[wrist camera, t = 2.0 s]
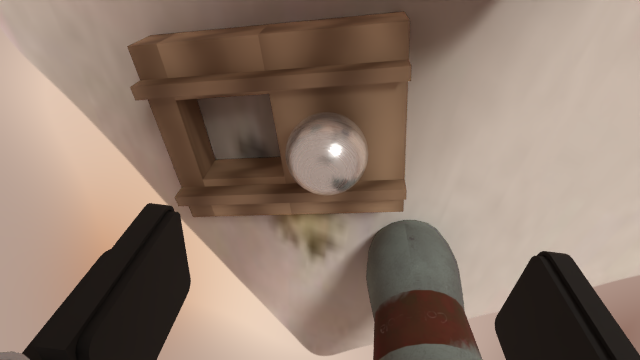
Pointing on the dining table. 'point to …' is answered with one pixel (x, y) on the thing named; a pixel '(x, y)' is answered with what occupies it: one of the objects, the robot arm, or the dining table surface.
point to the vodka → (417, 296)
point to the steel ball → (326, 153)
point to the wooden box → (281, 107)
